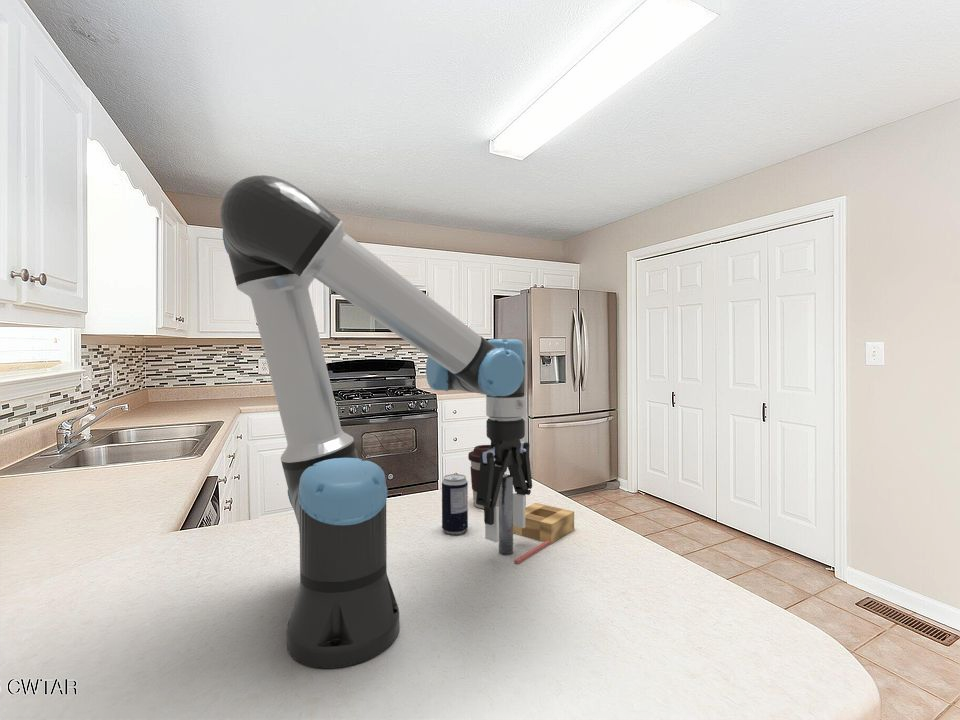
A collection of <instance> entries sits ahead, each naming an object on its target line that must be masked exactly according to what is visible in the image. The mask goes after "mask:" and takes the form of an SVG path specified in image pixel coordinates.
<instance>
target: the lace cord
mask: <svg viewBox="0 0 960 720" xmlns="http://www.w3.org/2000/svg"><path fill="white" fill-rule="evenodd" d="M549 545H552V544H551V541H550V540H547V541H545V542H543V541H542V543H540V544H538V545H536V546H535V547H533V548H532V549H530V550H528V551H527V552H525V553H523V554H522V555H520V556H518V557H517V558H515V559H514V564H516V565H519V564H521V563H522V562H524V561H525V560H527V559H529V558H531V557H532V556H534V555H535V554H536V553H538V552H540V551H542V550H543V549H545V548H547V547H548V546H549Z"/></svg>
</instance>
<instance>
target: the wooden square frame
mask: <svg viewBox="0 0 960 720" xmlns="http://www.w3.org/2000/svg"><path fill="white" fill-rule="evenodd" d="M574 530H575V511H573V510H569V509H565V508H560V507H557V506H551V505H547V504H543V503H538V502H534V503H532V504H530V505H528V506H526V507H525V528H521V527H517V526H513V534H516V535H518V536H519V535H520V536H522V537H526V538H529V539H533V540H537V541H540V542H542V543H543V542H545V541H547V540H550V541H551V544H550V545H552V544H554V543H555V542H556V541H558V540H559V539H561V538H563V537H565V536H566V535H568V534H569V533H571V532H573V531H574Z"/></svg>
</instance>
